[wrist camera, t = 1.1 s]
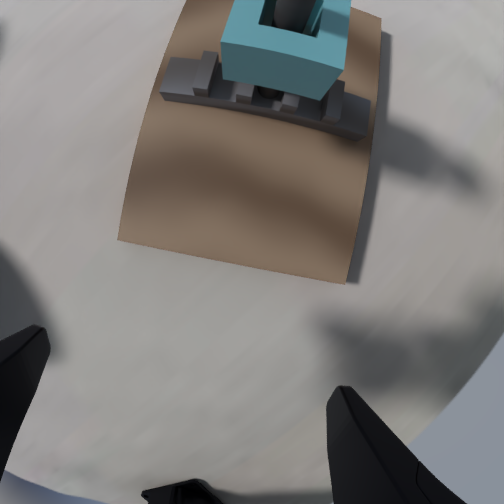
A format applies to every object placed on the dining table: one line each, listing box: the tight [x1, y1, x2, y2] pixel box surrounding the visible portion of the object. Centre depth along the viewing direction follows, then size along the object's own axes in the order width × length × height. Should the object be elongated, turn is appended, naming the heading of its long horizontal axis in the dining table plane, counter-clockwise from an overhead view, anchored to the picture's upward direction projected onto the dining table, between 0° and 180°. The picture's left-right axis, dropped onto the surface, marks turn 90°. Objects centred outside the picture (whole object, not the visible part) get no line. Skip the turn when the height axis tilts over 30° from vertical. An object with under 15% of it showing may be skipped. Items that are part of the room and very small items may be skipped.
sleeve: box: [220, 0, 351, 101], centre depth 9 cm, size 4×4×3 cm
